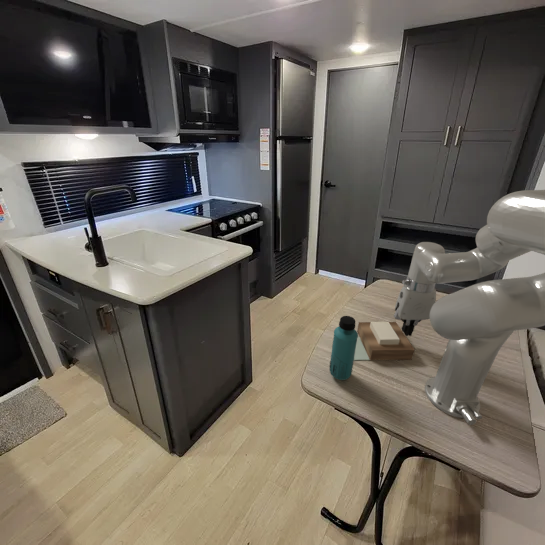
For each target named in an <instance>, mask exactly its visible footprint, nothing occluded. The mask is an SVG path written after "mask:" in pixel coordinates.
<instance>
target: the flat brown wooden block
mask: <svg viewBox="0 0 545 545" xmlns="http://www.w3.org/2000/svg"><path fill="white" fill-rule="evenodd" d="M371 322H372V321H370V322H369V321H368V322H367V321H363V322H362V321H361V322H360V321H359V322H358V326H357V330H356V331H357V333H358V336H359V337H360V339H361V342H362V344H363V346H364V348H365V350H366V353H367V355H368V357H369V359H370V360H369V361H411V360H413V357H414V353H415V352H416V351H415V348H414V347H413V345H412V344H411V342H410V341H409V339H408V338H407V336H406V335H405V334H404V332H403V331H402V328H400V326H399V324H398V323H397V322H396V321H388V322H389V324H390V325H391V327H392V328H393V330H394V331H395V333H396V334H397V336H398V338H399V339H400V340H399V344H393V345H379V343H378V341H377V339H376V338H375V336H374V334H373V332H372V330H371V328H370V323H371Z"/></svg>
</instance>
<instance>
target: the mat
mask: <svg viewBox="0 0 545 545" xmlns="http://www.w3.org/2000/svg"><path fill="white" fill-rule="evenodd" d="M354 358H355V359H354V361H371V360H370V359H369V356H368V354H367V352H366V350H365V348H364V345H363V343H362V341H361V339H360V337H359V335H358V338H357V343H356V349H355V355H354Z"/></svg>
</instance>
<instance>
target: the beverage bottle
mask: <svg viewBox="0 0 545 545" xmlns="http://www.w3.org/2000/svg"><path fill="white" fill-rule="evenodd" d="M338 322H339V323H338V326H337V327H336V328H335V329H334V331H333V339H332V345H331V354H330V361H329V367H328V368H329V373H330V375H331V376H332V377H333V378H335V379H336V380H338V381H339V380H341V381H344V380H348V379H349V378H350V377H352V373H353V368H354V362H355V360H354V359H355V358H354V355H355V349H356V343H357V338H358V336H359V334H358V332H357V330H356V320H355V318H354V317H352V316H349V315H342V316H341V317H340V319H339V321H338Z"/></svg>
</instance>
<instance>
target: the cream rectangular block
mask: <svg viewBox="0 0 545 545" xmlns="http://www.w3.org/2000/svg"><path fill="white" fill-rule="evenodd" d="M370 322H371V323H370V328H371V330H372V332H373V334H374V336H375V338H376V339H377V341H378V343H379V345H393V344H399V340H400V339H399V338H398V336H397V334H396V333H395V331H394V330H393V328H392V327H391V325H390V324H389V322H390V321H370Z"/></svg>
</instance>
